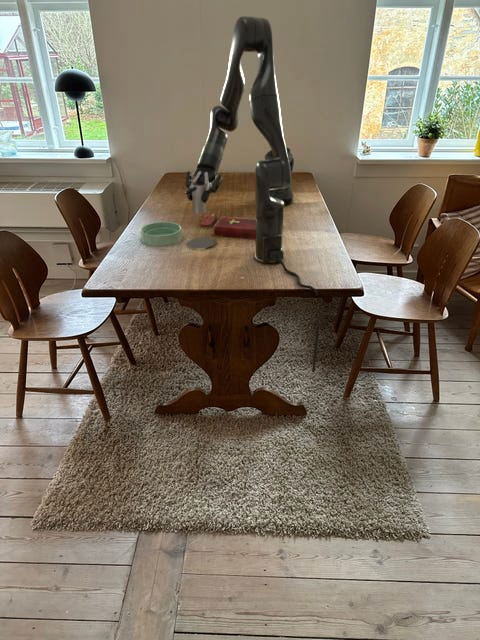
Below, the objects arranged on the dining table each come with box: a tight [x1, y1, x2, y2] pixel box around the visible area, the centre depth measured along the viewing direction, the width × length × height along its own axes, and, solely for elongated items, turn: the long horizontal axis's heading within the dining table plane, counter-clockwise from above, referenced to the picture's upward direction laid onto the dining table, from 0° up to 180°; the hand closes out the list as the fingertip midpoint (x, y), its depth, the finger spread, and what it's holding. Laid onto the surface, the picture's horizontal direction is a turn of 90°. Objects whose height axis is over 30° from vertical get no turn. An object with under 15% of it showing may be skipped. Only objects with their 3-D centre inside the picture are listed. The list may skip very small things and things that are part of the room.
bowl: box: [140, 221, 183, 247], centre depth 173 cm, size 15×15×4 cm
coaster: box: [187, 237, 216, 250], centre depth 170 cm, size 10×10×1 cm
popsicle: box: [200, 213, 217, 228], centre depth 191 cm, size 4×2×15 cm
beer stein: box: [264, 147, 295, 207], centre depth 210 cm, size 16×19×25 cm
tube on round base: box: [185, 182, 208, 215], centre depth 159 cm, size 11×5×10 cm, turn 156°
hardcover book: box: [212, 215, 256, 240], centre depth 179 cm, size 12×21×4 cm, turn 76°
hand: (196, 200), depth 160 cm, fingers closed on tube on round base, 5 cm apart
